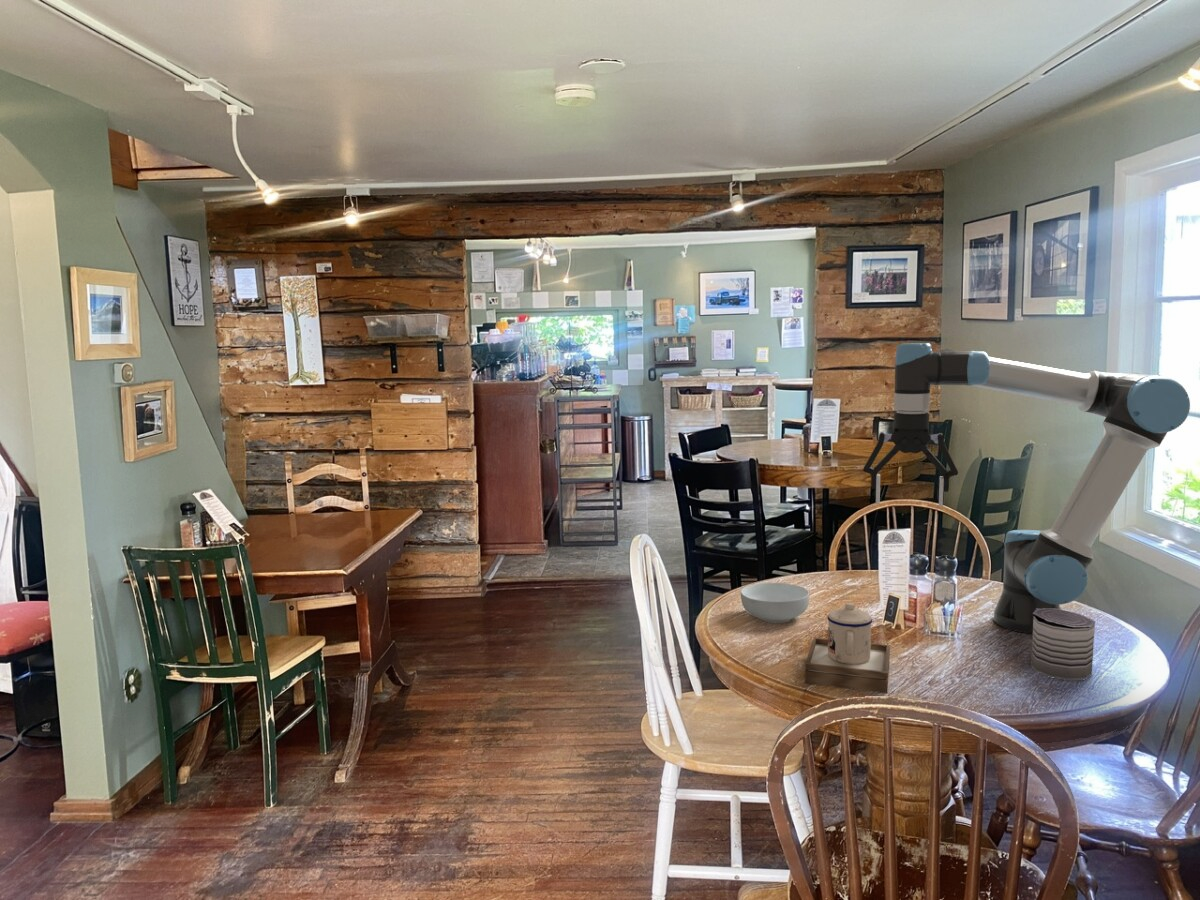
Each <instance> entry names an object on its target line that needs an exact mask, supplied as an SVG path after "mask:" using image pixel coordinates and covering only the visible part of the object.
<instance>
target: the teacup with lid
mask: <svg viewBox="0 0 1200 900" xmlns="http://www.w3.org/2000/svg"><path fill="white" fill-rule="evenodd" d="M826 618H827V620H828V623H827V624H828V626H827V629H828V631H827V632H828V633H827V639H828V656H829V657H830V658H831V659H832V660H834V661H837V662H840V663H845V664H861V663H865V662H867V661H868V660H869V659H870V648H871V643H872V641H871V640H872V638H871V637H872V623H873V617H872V615H871V614H870V613H868V612H866V611H864V610H861V609H859V608H858V607H856V604H855V603H852V602H847V603H845V604H844V606H842V607H841V608H837V609H833V610H831V611H830V612H829V613H828V614H827V617H826Z"/></svg>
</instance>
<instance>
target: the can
mask: <svg viewBox="0 0 1200 900" xmlns="http://www.w3.org/2000/svg"><path fill="white" fill-rule="evenodd" d="M1033 614H1035V615H1034V618H1033V634H1032V638H1031V639H1032V640H1031V658H1030V659H1031V663H1030V666H1031V667H1032V668H1033V671H1034V672H1035V673H1038V672H1039V674H1042V675H1043V674H1044V675H1043V676H1045V675H1046V677H1048V676H1049V677H1048V678H1051V677H1054V678H1053V679H1057V678H1059V679H1058V680H1063V679H1065V680H1064V681H1069V680H1071V681H1083V679H1086V678H1087V677H1088V678H1090V677H1091V676H1092V674H1093V663H1094V662H1093V660H1094V659H1093V658H1094V646H1095V645H1094V643H1095V642H1094V641H1095V628H1096V621H1095V620H1094V619H1091V618H1089V617H1087V616H1085V615H1083V614H1081V613H1077V612H1073V611H1069V610H1064V609H1061V610H1060V609H1056V608H1036V609H1035V611H1034V612H1033ZM1090 675H1091V676H1090ZM1089 676H1090V677H1089ZM1088 678H1087V679H1088ZM1087 679H1086V680H1087Z"/></svg>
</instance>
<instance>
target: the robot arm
mask: <svg viewBox="0 0 1200 900" xmlns="http://www.w3.org/2000/svg"><path fill="white" fill-rule="evenodd" d="M931 386H966V387H973V388H979V389H984V390H988V391H989V390H990V391H994V392H1000V393H1006V394H1010V395H1017V396H1023V397H1027V398H1033V399H1038V400H1044V401H1048V402H1055V403H1059V404H1066V405H1071V406H1077V407H1078V409H1079V410H1080V411H1081V412H1084V413H1090V414H1094V415H1097V416H1100V417H1104V420H1103V422H1102V425H1103V427H1104V430H1105V434H1104V436H1103V438H1102V439H1101V441H1100V443H1099V445H1098V446H1097V448H1096V450H1095V452H1094V453H1093V455H1092V457H1091V458H1090V460H1089V462H1088V463H1087V465H1086V467H1085V469H1084V471H1083V472H1082V474H1081V476H1080V478H1079V479H1078V481H1077V483H1076V485H1075V486H1074V488H1073V490H1072V491H1071V493H1070V495H1069V497H1068V498H1067V501H1066V502H1065V504H1064V506H1063V507H1062V509H1061V510H1060V512H1059V515H1058V516H1057V518H1056V519H1055V521H1054V523H1053V525H1052V526H1051V528H1049V529H1044V530H1036V529H1035V530H1033V529H1014V530H1010V531H1008V532H1006V534H1005V540H1004V541H1005V542H1004V543H1003V544H1004V554H1003V555H1004V558H1003V560H1004V561H1003V582H1002V583H1003V586H1002V592H1001V595H1000V596H999V599H998V601H997V604H996V606H995V608H994V611H993V612H994V613H993V621H994V623H995V624H997V625H998V626H1001V628H1005V629H1007V630H1010V631H1016V632H1018V633H1026V634H1032V635H1033V618H1034V615H1035V614H1033V612H1034V611H1035V609H1036V608H1056V609H1060V610H1062V609H1061V605H1066V604H1069V603H1072V602H1074V601H1076V600H1077V599H1078V598H1079V597H1081V596H1082V595H1083V594H1084V593H1085V590H1086V589H1087V586H1088V582H1089V581H1088V580H1089V579H1088V577H1089V576H1088V572H1087V569H1088V568H1089V566H1090V565H1091V563H1092V561H1093V559H1094V558H1095V557H1094V554H1093V551H1092V546H1093V544H1094V543H1095V541H1096V538H1097V537H1098V536H1099V534H1100V532H1101V530H1102V528H1103V527H1104V525H1105V523H1106V522H1107V520H1108V518H1109V517H1110V515H1111V513H1112V512H1113V510H1114V508H1115V507H1116V505H1117V503H1118V501H1119V499H1120V497H1121V496H1122V495H1123V493H1124V490H1126V487H1127V486H1128V484H1129V482H1130V480H1132V477H1133V476H1134V474H1135V472H1136V470H1137V469H1138V467H1139V465H1140V464H1141V462H1142V461H1143V458H1144V456H1145V455H1146V453H1147V452H1148V451H1149V450H1151V449H1154V448H1157V447H1160V446H1161V444H1162V442H1163V440H1164V439H1165V438H1166V436H1167V434H1168V433H1169V432H1172V431H1174V430H1176V429H1177V428H1179V427H1180V426H1182V425H1183V424H1184V423H1185V421H1186V420H1187V418H1188V416H1189V413H1190V411H1191V410H1190V409H1191V401H1190V397H1189V395H1188V392H1187V390H1186V389H1185V387H1184V386H1183V385H1182V384H1181V383H1179V382H1178V381H1177V380H1174V379H1172V378H1170V377H1168V376H1165V375H1164V376H1163V375H1160V374H1147V373H1146V374H1144V373H1138V372H1104V371H1099V370H1091V371H1088V372H1086V373H1083V372H1078V371H1073V370H1068V369H1067V370H1066V369H1061V368H1054V367H1051V366H1050V367H1049V366H1045V365H1044V366H1043V365H1038V364H1032V363H1026V362H1020V361H1015V360H1014V361H1013V360H1010V359H1003V358H998V357H993V356H989V355H988V353H987V352H986V351H981V350H976V351H975V350H966V351H965V350H963V351H961V350H953V349H948V348H945V349H942V350H941V349H940V350H939V351H935V350H934V351H933V349H932V344H930V343H928V342H920V343H918V342H916V343H912V342H910V343H907V342H906V343H901V344H898V345H897V347H896V349H895V363H894V396H893V397H894V398H893V410H894V411H896V412H895V413H894V414H893V430H892V431H893V432H892V433H886V432H884V431H880V433H879V435H878V440H877V443H876V445H875V447H874V449H873V451H872V452H871V453H870V456H869V458H868V459H867V461H866V463H865V464H864V466H863V468H862V471H863V472H864V473H867V474H869V475H870V486H871V487H870V488H871V489H873V490H875V504H877V505H878V504H880V502H881V501H880V500H881V497H880V496H881V473H879V472H880V471H881V470H882V469H883V468H884V467H886V465H887V464H888V462H890V460H891V459H893V458H894V456H896V454H898V453H899V451H900V452H901V453H903V454H908V453H913V454H919V453H921V452H922V454H923V455H925V457H926V458H927V459H928V460H929V461H930V462H931V464H932V465H933V466H934V467H935V468H936V470H938V472H939V473H940V474H941V475H942V476H941V475H940V476H939V483H938V484H939V487H938V488H939V490H938V506H939V508H940V507H941V508H942V507H944V493H945V492H946V493H948V492H949V490H950V478H951V477H954V476H957V475H959V471H958V469H957V466H956V464H955V462H954V460H953V458H952V457H951V454H950V452H949V451H948V448H947V446H946V444H945V439H944V435H943V433H942V432H939V433H935V434H930V431H929V429H930V414H929V413H928V411H930V406H931V405H930V403H931V401H930V398H931V397H930V396H931ZM889 440H891V441H892V442H893V444H894V446H893V447H892V448H891V449H890V450H889V451H888V452H887V453H886V455H884V456H883V458H882V459H881V460H880V461H879V462H878V463H877V464H876V465H875V466H874V467H872V466H873V463H874V461H875V460H876V458H877V456H878V455H879V453H880V452H881V449H882V447H883V446H884V443H887V442H888V441H889ZM931 441H933V443H934V444H936V445H938V447H939V450H940V452H941V453H942V455H943V458H944V459H945V461H946V464H947V465H948V468H949V470H947V469H946V468H945V466H944V465H943V464H942V463H941V462H940V461H939V459H938V458H937V457H936V456H935V455H934V453H933V452H932V451H931V450H930V449H929V447H928V446H927V445H928V444H929V443H930V442H931Z"/></svg>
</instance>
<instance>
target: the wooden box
mask: <svg viewBox="0 0 1200 900" xmlns="http://www.w3.org/2000/svg"><path fill="white" fill-rule="evenodd" d="M890 649H891V644H884V643H882V644H881V643H874V642H871V648H870V659H869V660H868V661H867V662H865V663H861V664H845V663H840V662H837V661H834V660H832V659H831V658H830V657H829V656H828V638H824V637H822V638H821V637H813V639H812V642H811V646H810V648H809V651H808V654H807V657H806V660H805V665H804V670H805V671H804V684H806V683H807V685H815V686H822V687H823V686H824V687H831V688H832V687H833V688H839V689H840V688H841V689H848V690H856V691H857V690H859V691H865V692H874V693H883V694H888V686H889V676H890V675H889V672H890V655H891V653H890V652H891V651H890Z"/></svg>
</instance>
